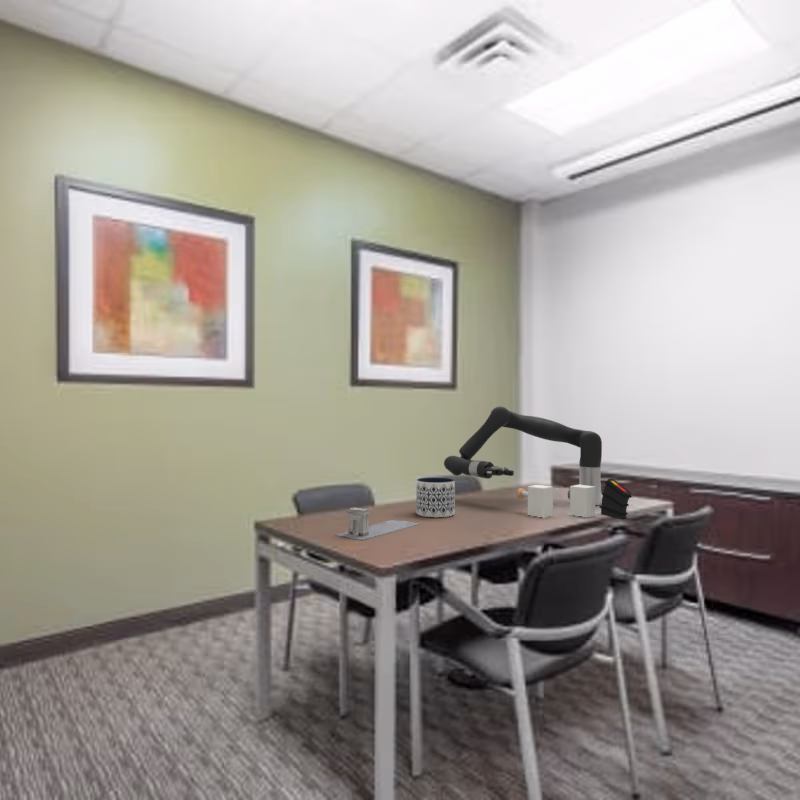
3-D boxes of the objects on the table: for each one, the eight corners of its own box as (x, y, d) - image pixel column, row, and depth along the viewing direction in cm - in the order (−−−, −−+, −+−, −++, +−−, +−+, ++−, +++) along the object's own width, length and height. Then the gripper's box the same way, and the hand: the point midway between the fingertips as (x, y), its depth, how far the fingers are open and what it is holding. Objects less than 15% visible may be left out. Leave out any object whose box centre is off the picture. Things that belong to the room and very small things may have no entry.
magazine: (600, 508, 253) (612, 478, 247) (622, 526, 242) (636, 496, 237) (594, 508, 251) (606, 478, 245) (616, 527, 241) (629, 496, 235)
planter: (412, 511, 253) (413, 477, 253) (449, 510, 256) (449, 476, 256) (420, 518, 238) (421, 482, 238) (459, 517, 241) (459, 482, 241)
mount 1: (537, 513, 250) (537, 484, 250) (553, 516, 244) (553, 486, 244) (527, 515, 245) (527, 486, 245) (543, 518, 239) (543, 488, 239)
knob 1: (523, 497, 253) (523, 487, 253) (539, 500, 247) (539, 489, 247) (516, 499, 250) (516, 488, 250) (533, 501, 244) (533, 491, 244)
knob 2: (573, 498, 251) (573, 488, 251) (591, 501, 245) (591, 490, 245) (567, 500, 248) (567, 489, 248) (585, 502, 242) (586, 492, 242)
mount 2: (579, 512, 251) (579, 484, 251) (595, 515, 245) (595, 486, 245) (569, 515, 246) (570, 486, 246) (586, 517, 241) (586, 488, 241)
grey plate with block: (335, 536, 208) (335, 509, 208) (394, 521, 234) (394, 496, 234) (362, 541, 201) (362, 513, 201) (419, 525, 227) (419, 500, 227)
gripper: (471, 461, 263) (503, 465, 250) (490, 460, 272) (522, 463, 259) (471, 478, 263) (502, 483, 250) (490, 476, 272) (521, 480, 259)
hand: (512, 473), depth 255 cm, fingers closed
